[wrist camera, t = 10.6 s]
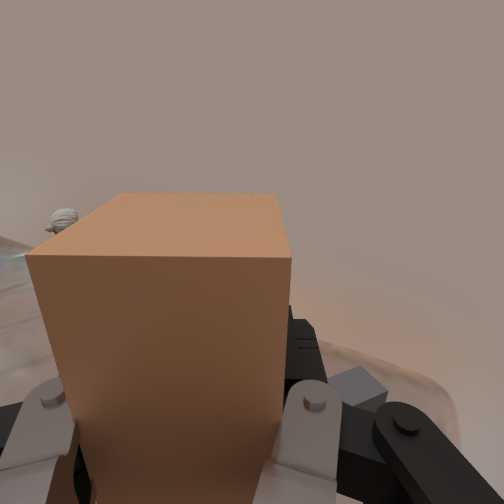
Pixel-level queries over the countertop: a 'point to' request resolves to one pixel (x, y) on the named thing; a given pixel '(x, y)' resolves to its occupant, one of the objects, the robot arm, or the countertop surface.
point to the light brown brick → (171, 341)
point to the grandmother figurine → (61, 220)
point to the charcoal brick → (359, 389)
